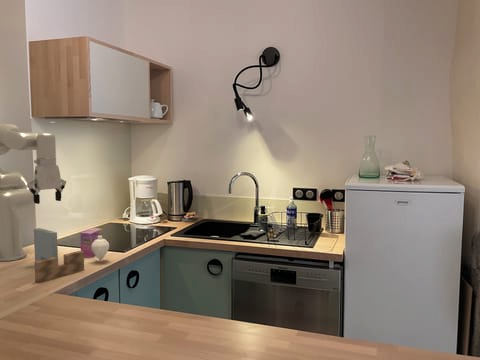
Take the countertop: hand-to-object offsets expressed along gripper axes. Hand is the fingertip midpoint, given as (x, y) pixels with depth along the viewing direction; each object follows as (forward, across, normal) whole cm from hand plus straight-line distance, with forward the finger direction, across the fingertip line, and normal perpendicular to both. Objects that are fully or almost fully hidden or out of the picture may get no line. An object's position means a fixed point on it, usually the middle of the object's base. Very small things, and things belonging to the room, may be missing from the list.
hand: (47, 202), depth 181 cm
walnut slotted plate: (+28, -5, -16) cm, 32 cm away
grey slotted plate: (+28, -2, 0) cm, 28 cm away
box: (+28, +22, 0) cm, 36 cm away
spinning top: (+28, +17, -13) cm, 35 cm away
